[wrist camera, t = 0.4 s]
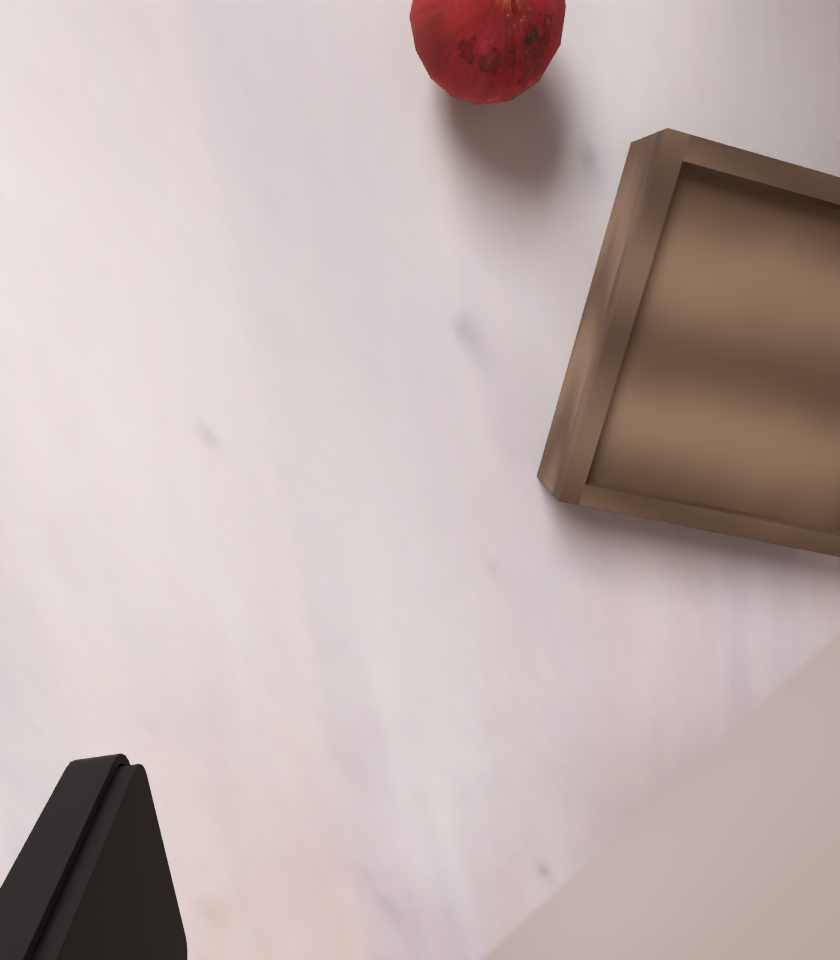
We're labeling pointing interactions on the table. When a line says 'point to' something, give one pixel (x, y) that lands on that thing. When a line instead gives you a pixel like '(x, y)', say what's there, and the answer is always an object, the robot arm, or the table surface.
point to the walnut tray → (710, 350)
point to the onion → (486, 44)
